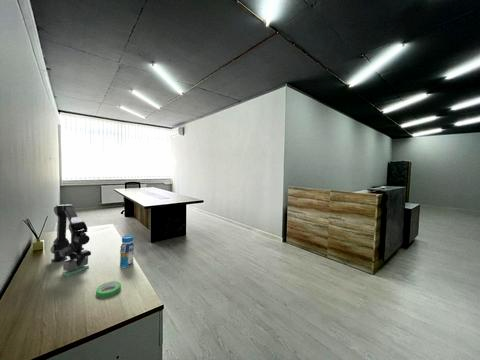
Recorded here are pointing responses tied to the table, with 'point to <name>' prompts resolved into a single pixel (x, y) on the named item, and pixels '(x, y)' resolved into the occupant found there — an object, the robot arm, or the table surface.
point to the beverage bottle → (126, 252)
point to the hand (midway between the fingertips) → (76, 265)
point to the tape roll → (108, 293)
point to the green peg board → (75, 270)
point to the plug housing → (73, 264)
